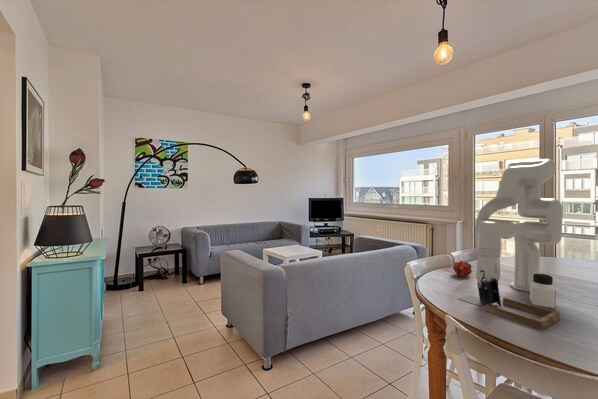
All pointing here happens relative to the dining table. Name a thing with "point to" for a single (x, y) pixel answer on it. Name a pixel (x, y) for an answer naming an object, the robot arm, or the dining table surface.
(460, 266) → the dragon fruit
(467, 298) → the mat
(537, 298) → the medicine bottle
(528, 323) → the walled lane
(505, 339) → the dining table surface
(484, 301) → the speaker
